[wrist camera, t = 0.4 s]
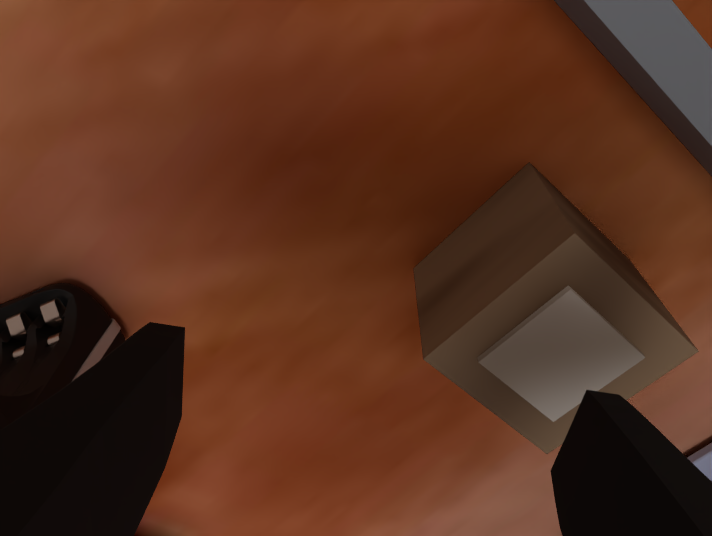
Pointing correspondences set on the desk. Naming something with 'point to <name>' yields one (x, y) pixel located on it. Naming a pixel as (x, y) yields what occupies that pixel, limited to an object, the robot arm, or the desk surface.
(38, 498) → the robot arm
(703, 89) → the screen
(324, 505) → the desk surface
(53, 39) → the desk surface
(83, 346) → the battery charger
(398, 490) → the desk surface
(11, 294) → the desk surface
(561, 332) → the brown cube
